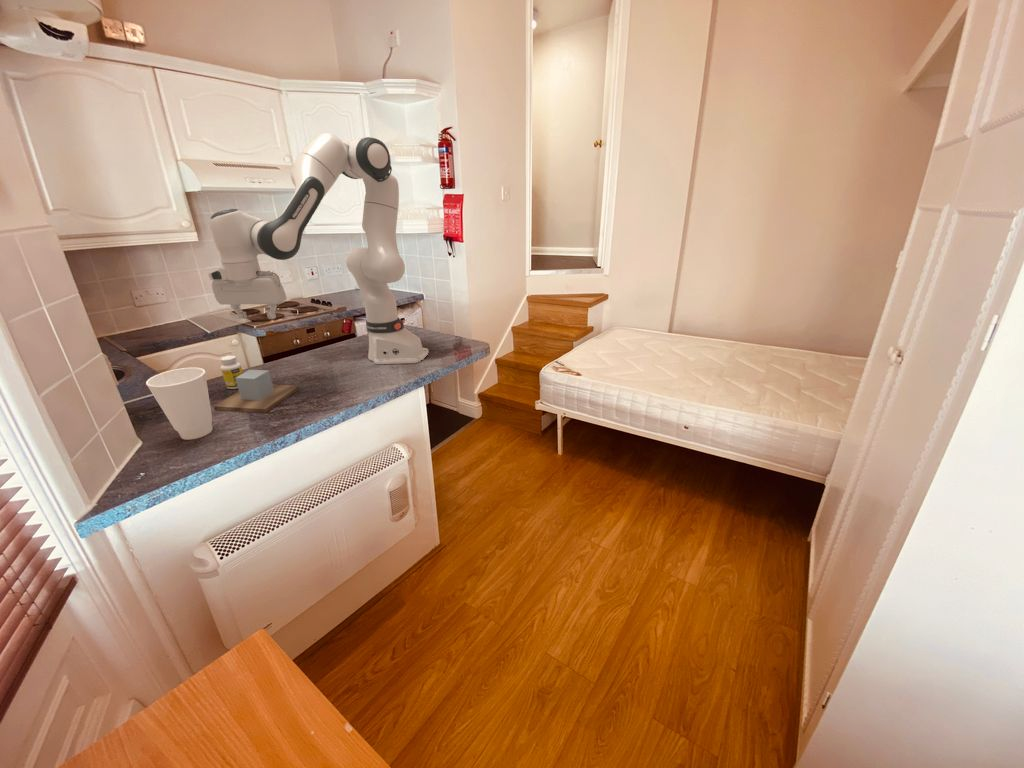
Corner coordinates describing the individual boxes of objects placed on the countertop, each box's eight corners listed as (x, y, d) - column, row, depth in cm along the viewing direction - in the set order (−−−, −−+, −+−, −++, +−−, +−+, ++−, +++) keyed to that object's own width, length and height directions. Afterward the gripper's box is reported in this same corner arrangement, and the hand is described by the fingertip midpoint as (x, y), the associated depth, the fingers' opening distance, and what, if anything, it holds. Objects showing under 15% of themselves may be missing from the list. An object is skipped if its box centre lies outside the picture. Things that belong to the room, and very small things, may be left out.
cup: (169, 430, 111) (147, 374, 105) (222, 417, 118) (204, 363, 111) (168, 450, 102) (143, 390, 96) (225, 435, 109) (205, 378, 102)
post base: (299, 389, 134) (294, 368, 131) (266, 412, 119) (259, 389, 116) (253, 386, 136) (247, 366, 133) (215, 409, 121) (207, 387, 118)
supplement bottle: (237, 390, 134) (228, 361, 130) (222, 388, 135) (213, 360, 131) (250, 383, 139) (242, 355, 135) (236, 382, 140) (227, 354, 136)
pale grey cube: (274, 391, 130) (268, 370, 127) (260, 400, 124) (254, 378, 121) (255, 390, 130) (249, 369, 127) (241, 399, 125) (234, 377, 122)
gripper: (283, 268, 121) (296, 315, 128) (219, 269, 124) (234, 315, 130) (269, 273, 116) (283, 321, 122) (202, 274, 118) (219, 321, 124)
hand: (257, 318), depth 126 cm, fingers open, 8 cm apart
